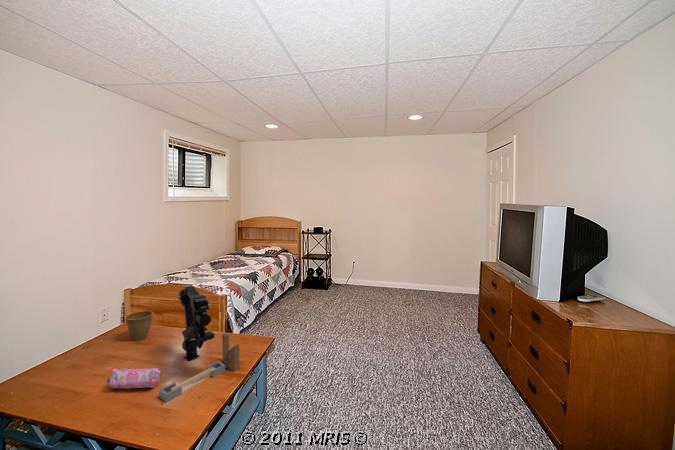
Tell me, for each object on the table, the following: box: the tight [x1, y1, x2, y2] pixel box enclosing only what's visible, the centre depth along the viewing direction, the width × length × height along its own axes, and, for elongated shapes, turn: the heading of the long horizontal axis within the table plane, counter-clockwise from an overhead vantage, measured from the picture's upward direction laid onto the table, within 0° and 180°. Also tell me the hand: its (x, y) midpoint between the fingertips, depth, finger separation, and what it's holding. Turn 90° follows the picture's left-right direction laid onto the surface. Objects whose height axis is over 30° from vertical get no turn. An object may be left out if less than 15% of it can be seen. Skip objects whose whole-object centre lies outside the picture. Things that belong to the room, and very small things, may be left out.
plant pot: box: [125, 310, 154, 342], centre depth 188 cm, size 15×15×16 cm
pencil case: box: [105, 367, 162, 390], centre depth 138 cm, size 21×9×9 cm, turn 91°
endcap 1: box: [158, 381, 183, 403], centre depth 132 cm, size 6×7×4 cm
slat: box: [170, 367, 216, 393], centre depth 141 cm, size 3×22×3 cm, turn 149°
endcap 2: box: [205, 360, 226, 378], centre depth 151 cm, size 6×7×4 cm
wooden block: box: [220, 332, 240, 372], centre depth 156 cm, size 4×11×18 cm, turn 60°
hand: (199, 348), depth 152 cm, fingers closed
